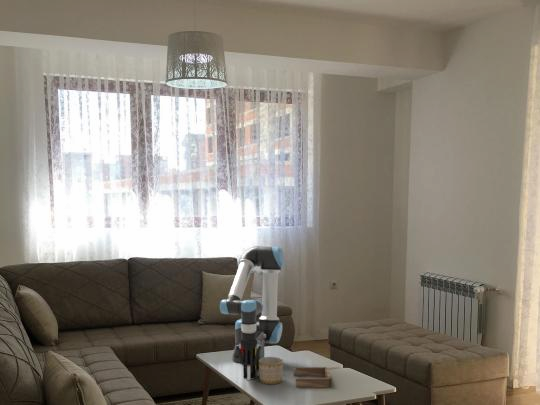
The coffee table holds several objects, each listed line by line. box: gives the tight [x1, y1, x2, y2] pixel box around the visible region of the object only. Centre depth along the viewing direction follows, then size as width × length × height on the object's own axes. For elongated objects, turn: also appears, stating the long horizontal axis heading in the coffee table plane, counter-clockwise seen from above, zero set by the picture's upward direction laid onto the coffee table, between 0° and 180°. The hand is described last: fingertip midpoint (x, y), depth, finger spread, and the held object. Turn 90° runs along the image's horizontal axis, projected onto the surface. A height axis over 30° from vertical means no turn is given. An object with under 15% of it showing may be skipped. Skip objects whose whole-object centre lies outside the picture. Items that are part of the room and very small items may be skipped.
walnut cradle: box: [293, 366, 332, 388], centre depth 273 cm, size 18×17×4 cm
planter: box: [258, 356, 285, 385], centre depth 273 cm, size 13×13×10 cm
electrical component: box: [241, 331, 266, 379], centre depth 286 cm, size 18×10×20 cm, turn 168°
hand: (248, 378), depth 272 cm, fingers closed
